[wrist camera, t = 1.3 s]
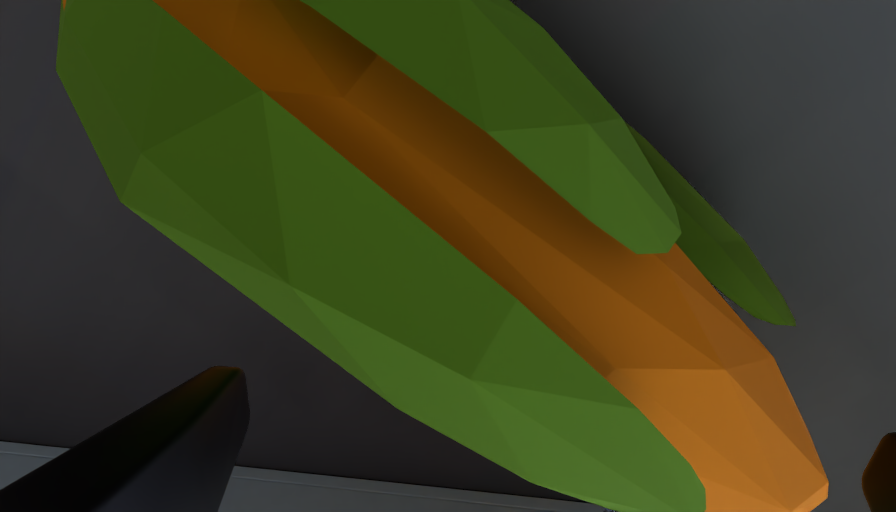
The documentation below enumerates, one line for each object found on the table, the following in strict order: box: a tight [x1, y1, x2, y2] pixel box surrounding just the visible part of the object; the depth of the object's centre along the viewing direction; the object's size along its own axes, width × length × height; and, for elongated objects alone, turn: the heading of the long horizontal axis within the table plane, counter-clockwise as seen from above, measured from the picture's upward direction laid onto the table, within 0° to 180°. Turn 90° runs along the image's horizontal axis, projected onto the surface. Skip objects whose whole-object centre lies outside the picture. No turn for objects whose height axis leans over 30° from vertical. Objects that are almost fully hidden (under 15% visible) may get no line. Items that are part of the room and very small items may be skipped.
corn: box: [56, 0, 829, 512], centre depth 12 cm, size 7×8×20 cm
